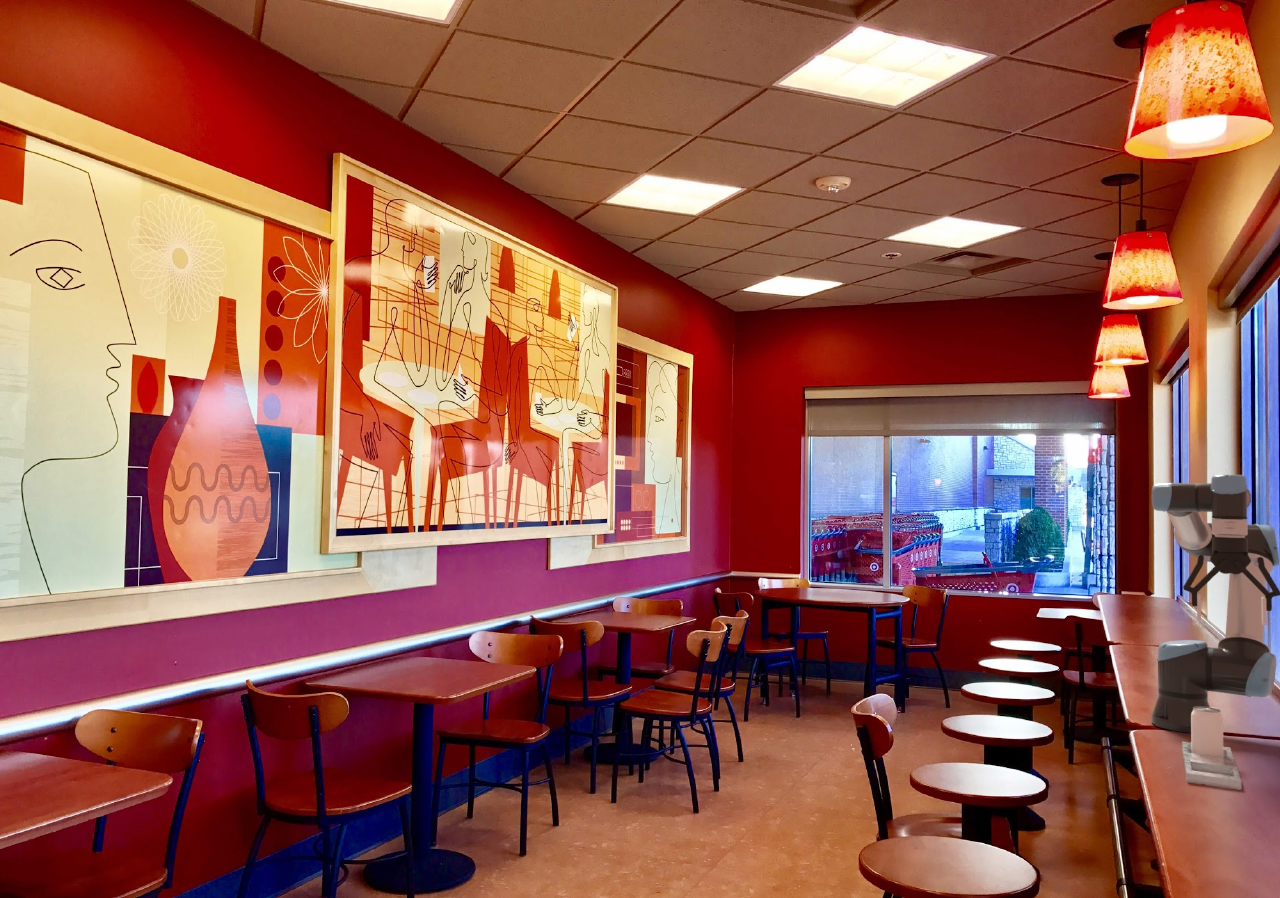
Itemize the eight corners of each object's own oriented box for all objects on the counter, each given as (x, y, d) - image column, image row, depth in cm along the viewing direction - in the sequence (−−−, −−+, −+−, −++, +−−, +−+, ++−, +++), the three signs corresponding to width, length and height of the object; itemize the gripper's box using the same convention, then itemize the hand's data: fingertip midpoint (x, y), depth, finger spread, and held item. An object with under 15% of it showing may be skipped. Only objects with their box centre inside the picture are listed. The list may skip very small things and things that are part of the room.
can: (1219, 757, 218) (1218, 707, 219) (1227, 765, 212) (1226, 713, 213) (1188, 754, 220) (1187, 704, 221) (1195, 762, 214) (1194, 710, 215)
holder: (1182, 749, 225) (1182, 741, 225) (1230, 755, 220) (1230, 747, 220) (1186, 782, 198) (1186, 773, 199) (1241, 790, 194) (1241, 780, 194)
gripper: (1172, 535, 229) (1173, 619, 228) (1292, 538, 217) (1294, 628, 216) (1171, 534, 236) (1172, 616, 234) (1288, 537, 223) (1290, 624, 222)
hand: (1231, 622), depth 225 cm, fingers open, 13 cm apart
